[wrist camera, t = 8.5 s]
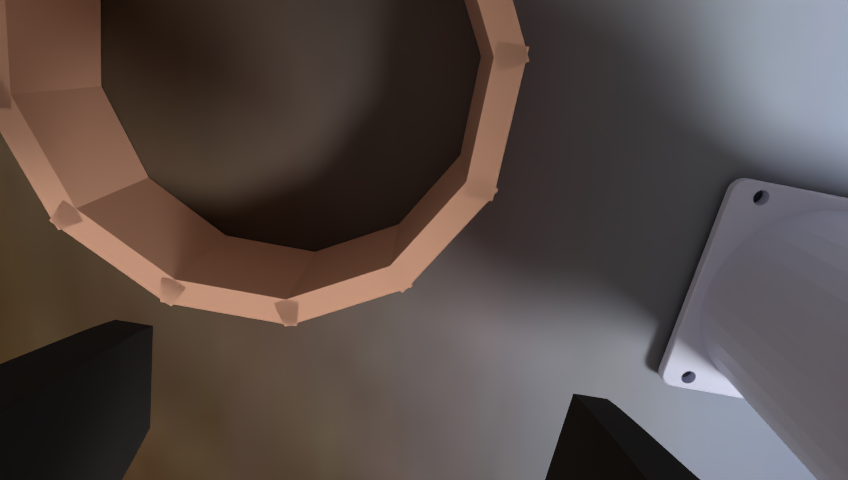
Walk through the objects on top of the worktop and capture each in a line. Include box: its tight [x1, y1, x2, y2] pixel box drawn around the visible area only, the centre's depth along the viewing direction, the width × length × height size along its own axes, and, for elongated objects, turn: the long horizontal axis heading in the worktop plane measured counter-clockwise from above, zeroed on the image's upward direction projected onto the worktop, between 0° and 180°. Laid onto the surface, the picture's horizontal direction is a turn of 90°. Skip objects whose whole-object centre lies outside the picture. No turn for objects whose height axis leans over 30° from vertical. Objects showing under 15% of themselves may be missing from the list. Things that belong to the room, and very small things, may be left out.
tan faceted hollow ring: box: [0, 0, 529, 327], centre depth 16 cm, size 14×14×4 cm
